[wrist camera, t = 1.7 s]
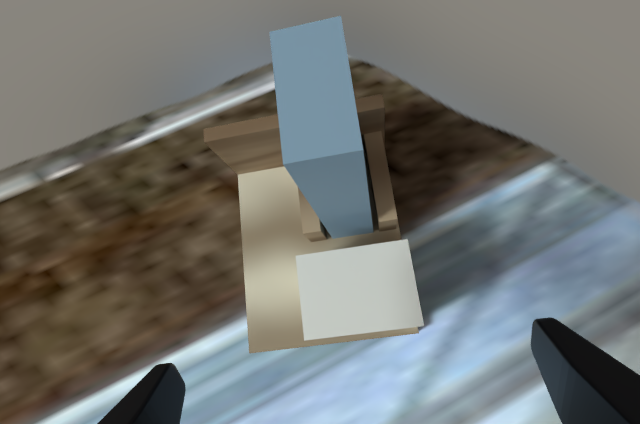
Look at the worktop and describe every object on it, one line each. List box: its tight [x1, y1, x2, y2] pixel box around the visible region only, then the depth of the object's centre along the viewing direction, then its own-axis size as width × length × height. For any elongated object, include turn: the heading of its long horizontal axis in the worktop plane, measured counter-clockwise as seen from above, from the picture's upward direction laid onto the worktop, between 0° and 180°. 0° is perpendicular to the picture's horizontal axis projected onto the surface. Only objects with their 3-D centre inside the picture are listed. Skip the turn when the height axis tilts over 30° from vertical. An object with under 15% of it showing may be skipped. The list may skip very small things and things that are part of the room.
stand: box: [204, 94, 419, 353], centre depth 21 cm, size 12×10×6 cm
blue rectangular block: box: [270, 16, 373, 239], centre depth 18 cm, size 5×2×12 cm, turn 7°
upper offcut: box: [296, 239, 424, 341], centre depth 19 cm, size 4×6×2 cm
